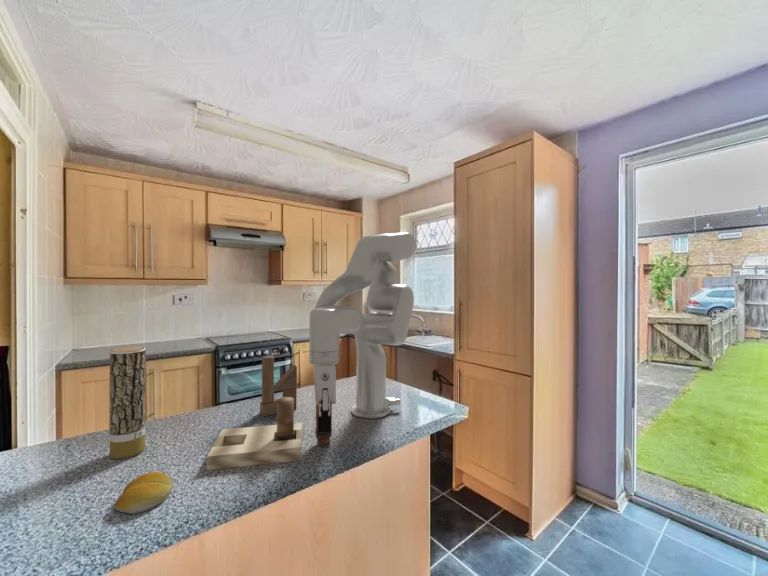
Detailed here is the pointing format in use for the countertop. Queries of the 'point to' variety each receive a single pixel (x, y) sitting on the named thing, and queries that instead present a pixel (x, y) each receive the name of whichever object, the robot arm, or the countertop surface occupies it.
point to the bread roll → (144, 493)
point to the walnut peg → (323, 437)
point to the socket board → (253, 447)
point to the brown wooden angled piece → (276, 386)
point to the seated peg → (285, 418)
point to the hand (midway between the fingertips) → (323, 427)
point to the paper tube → (127, 401)
